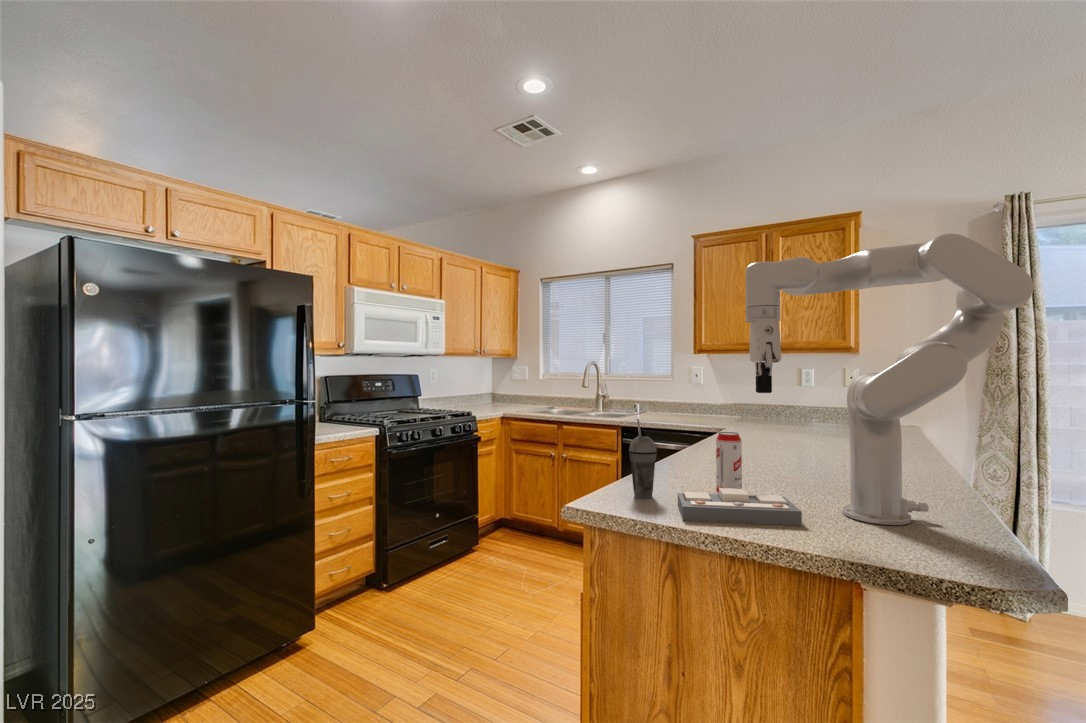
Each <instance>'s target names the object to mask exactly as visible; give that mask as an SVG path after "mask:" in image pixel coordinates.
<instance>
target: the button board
mask: <svg viewBox="0 0 1086 723" xmlns="http://www.w3.org/2000/svg"><path fill="white" fill-rule="evenodd" d="M708 494H709V496H710V498H711V502H709V501H685V499H684V492H677V506H678V510H679V513H680V517H681V520H682V521H684V522H685V521H689V522H707V521H716V523H728V522H742V523H741V524H750V523H761V524H760V525H771V524H778V525H777V526H793V527H794V526H796V527H797V526H798V527H802V526H803V524H802V522H803V520H802V519H803V516H802V515H803V514H802V511H801V509H800V508H798V507H797V506H796V505H795V504H793V502H791V501H790V500H789V499H787V497H786V496H781V497H782V498H784V499H785V500H786V501H787V505H784V504H760V503H759V502H758V501H757V500H756V499H755V495H750V494H748V495H749V503H741V502H722V501H721V500H720V498H719V493H708ZM744 522H745V523H744ZM779 524H780V525H779Z"/></svg>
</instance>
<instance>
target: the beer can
mask: <svg viewBox="0 0 1086 723" xmlns="http://www.w3.org/2000/svg"><path fill="white" fill-rule="evenodd" d="M717 434H718V435H717V437H716V438H715V457H716V458H715V465H716V466H715V468H716V469H715V470H716V471H715V475H716V476H715V478H716V481H715V482H716V492H717V494H719V488H734V489H743V468H742V467H743V459H742V457H743V456H742V455H743V454H742V452H743V451H742V450H743V449H742V438H741V437H740V433H739V432H734V431H733V432H732V431H720V432H718V433H717Z"/></svg>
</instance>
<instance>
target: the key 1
mask: <svg viewBox="0 0 1086 723" xmlns="http://www.w3.org/2000/svg"><path fill="white" fill-rule="evenodd" d="M683 493H684V499H685V501H709V502H711V498H710V496H709V494H710V493H708V492H699V491H697V492H696V491H683Z"/></svg>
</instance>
